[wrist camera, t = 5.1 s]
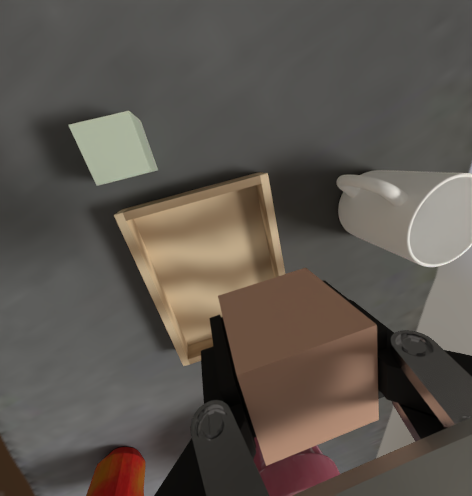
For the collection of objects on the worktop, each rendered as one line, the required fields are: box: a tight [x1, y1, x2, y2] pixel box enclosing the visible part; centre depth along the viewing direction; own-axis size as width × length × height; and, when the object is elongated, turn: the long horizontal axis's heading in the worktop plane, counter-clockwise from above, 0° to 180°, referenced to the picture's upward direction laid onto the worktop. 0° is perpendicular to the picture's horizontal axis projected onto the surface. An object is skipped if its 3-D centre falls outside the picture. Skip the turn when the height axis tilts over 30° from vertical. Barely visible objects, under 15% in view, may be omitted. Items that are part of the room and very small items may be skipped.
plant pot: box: [253, 437, 340, 496], centre depth 34 cm, size 14×14×13 cm
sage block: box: [69, 111, 158, 186], centre depth 20 cm, size 4×4×4 cm
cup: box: [336, 170, 472, 267], centre depth 24 cm, size 8×12×10 cm
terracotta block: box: [218, 268, 379, 466], centre depth 10 cm, size 4×4×4 cm
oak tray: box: [114, 172, 285, 366], centre depth 27 cm, size 20×15×3 cm
